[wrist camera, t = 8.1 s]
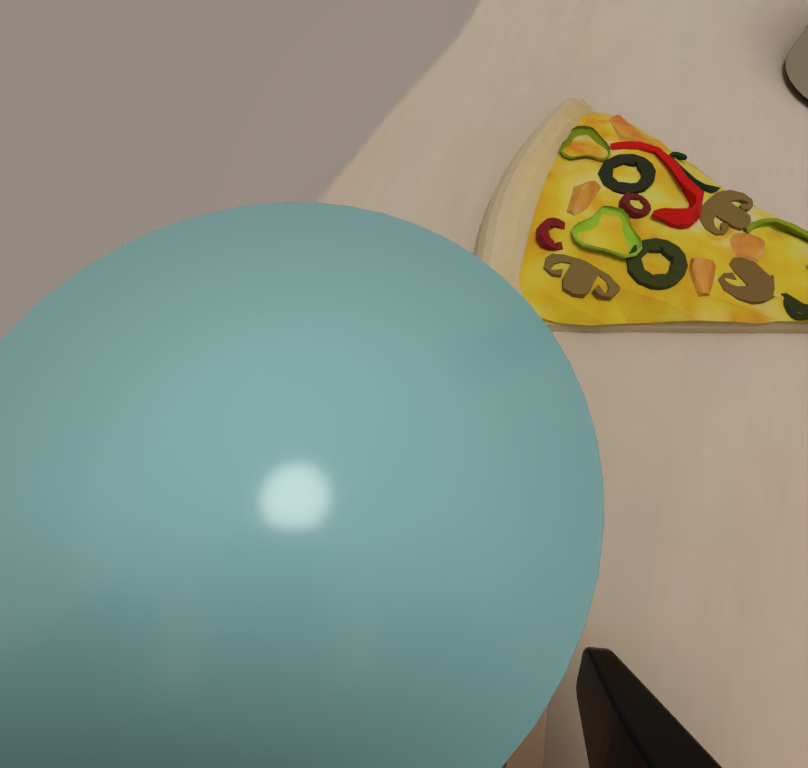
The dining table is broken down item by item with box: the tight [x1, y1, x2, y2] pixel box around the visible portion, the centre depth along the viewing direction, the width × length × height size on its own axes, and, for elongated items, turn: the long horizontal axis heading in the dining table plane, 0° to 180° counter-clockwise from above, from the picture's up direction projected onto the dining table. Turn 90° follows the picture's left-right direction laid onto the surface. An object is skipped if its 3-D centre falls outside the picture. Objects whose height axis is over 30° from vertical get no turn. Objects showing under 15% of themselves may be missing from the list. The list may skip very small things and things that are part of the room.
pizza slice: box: [474, 98, 808, 333], centre depth 23 cm, size 16×21×3 cm
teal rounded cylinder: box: [0, 202, 604, 768], centre depth 11 cm, size 6×6×14 cm
